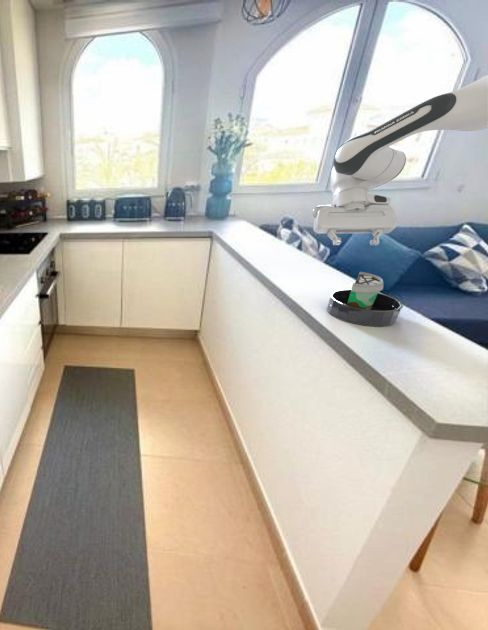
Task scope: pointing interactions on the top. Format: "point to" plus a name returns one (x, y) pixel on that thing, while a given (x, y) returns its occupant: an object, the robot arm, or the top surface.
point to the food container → (365, 291)
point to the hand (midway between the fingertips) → (355, 244)
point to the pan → (378, 316)
